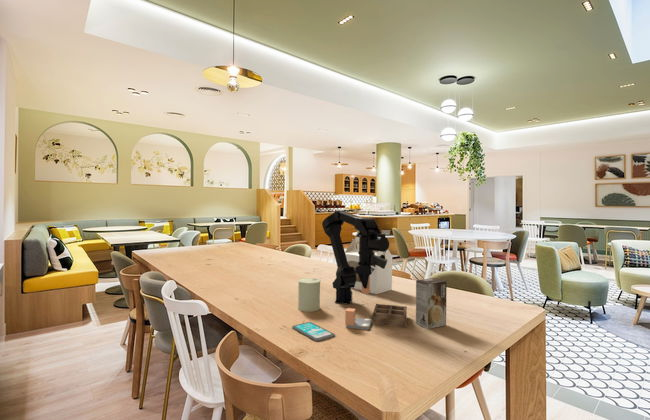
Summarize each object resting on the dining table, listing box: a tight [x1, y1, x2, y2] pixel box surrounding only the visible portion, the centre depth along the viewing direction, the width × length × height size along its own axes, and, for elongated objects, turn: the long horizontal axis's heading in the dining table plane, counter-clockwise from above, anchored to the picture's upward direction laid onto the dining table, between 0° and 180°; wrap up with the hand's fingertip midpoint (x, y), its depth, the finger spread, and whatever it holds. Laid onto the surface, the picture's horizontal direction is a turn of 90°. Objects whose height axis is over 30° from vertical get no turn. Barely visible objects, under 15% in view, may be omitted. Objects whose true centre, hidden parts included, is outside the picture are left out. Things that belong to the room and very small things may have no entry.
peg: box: [361, 276, 370, 295], centre depth 133 cm, size 3×3×8 cm
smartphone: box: [292, 321, 336, 343], centre depth 111 cm, size 9×1×15 cm
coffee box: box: [415, 277, 447, 330], centre depth 119 cm, size 9×6×16 cm
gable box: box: [344, 232, 393, 295], centre depth 171 cm, size 22×13×28 cm, turn 43°
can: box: [297, 277, 321, 313], centre depth 136 cm, size 9×9×12 cm
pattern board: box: [344, 307, 373, 331], centre depth 118 cm, size 8×8×6 cm
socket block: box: [372, 303, 408, 328], centre depth 123 cm, size 12×12×4 cm
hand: (365, 287), depth 133 cm, fingers closed on peg, 3 cm apart
